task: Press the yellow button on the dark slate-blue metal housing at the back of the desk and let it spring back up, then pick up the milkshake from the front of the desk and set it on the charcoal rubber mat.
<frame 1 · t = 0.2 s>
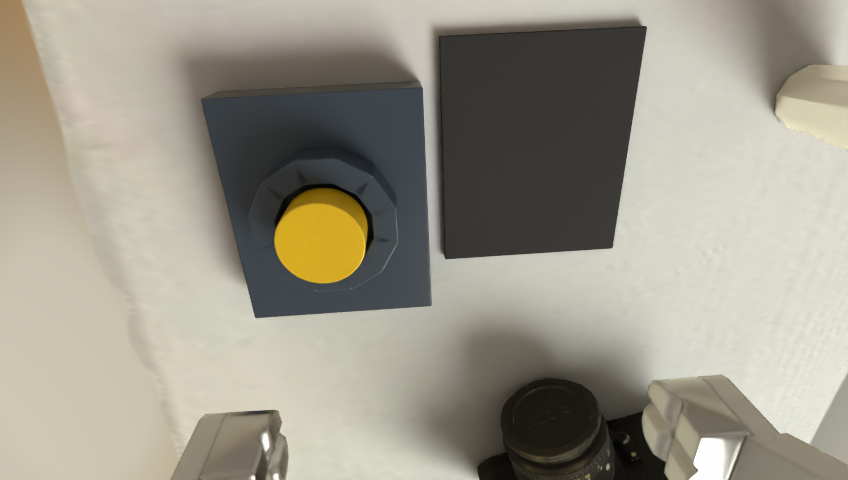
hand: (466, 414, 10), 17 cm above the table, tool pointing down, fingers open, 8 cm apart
milkshake: (793, 100, 25), on the table
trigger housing: (334, 199, 25), on the table
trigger: (323, 235, 21), point 5 cm above the table, slide at 0.1 cm
film camera: (555, 424, 34), on the table
mat: (534, 152, 25), on the table
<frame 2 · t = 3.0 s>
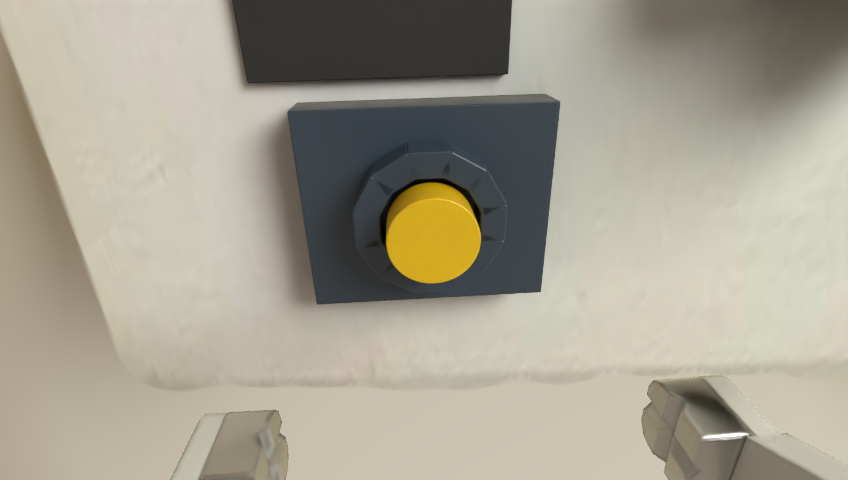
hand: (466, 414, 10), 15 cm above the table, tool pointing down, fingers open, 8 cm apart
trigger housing: (425, 195, 24), on the table
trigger: (431, 232, 20), point 5 cm above the table, slide at 0.1 cm
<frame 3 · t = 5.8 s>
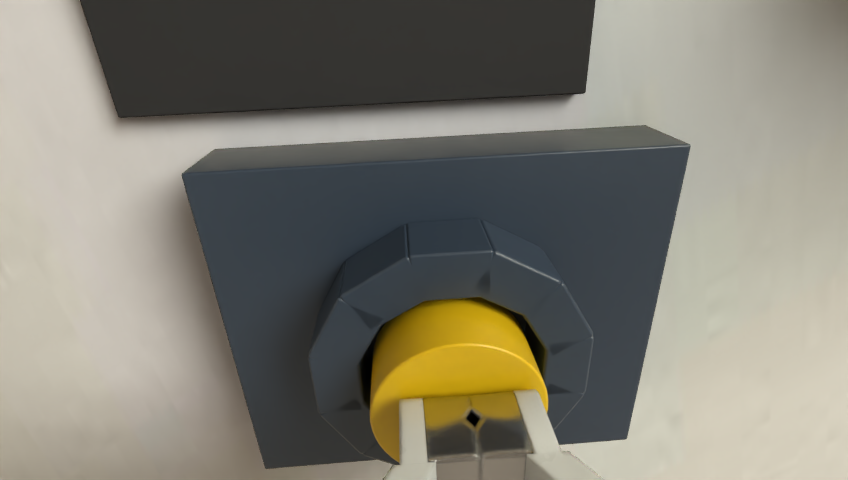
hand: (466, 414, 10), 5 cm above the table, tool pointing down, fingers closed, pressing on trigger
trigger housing: (438, 290, 15), on the table
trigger: (454, 383, 11), point 4 cm above the table, slide at -0.3 cm, touching gripper
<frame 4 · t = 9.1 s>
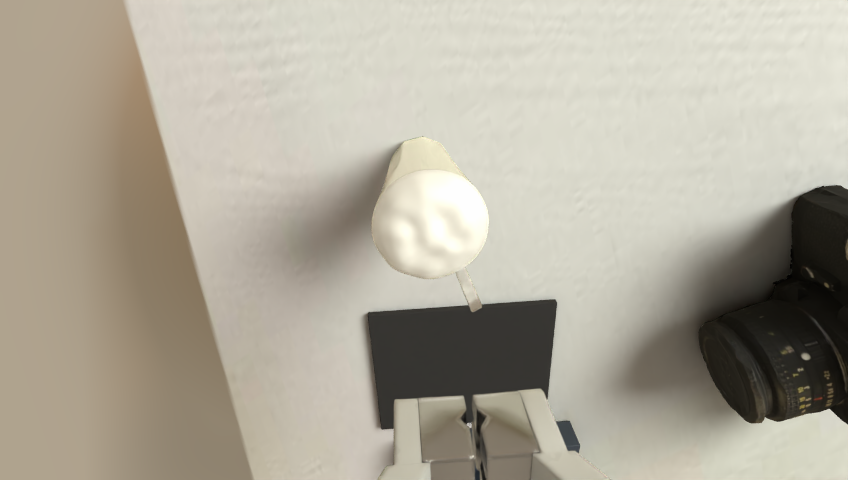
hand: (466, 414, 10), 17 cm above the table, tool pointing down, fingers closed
milkshake: (424, 170, 25), on the table
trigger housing: (489, 471, 36), on the table
film camera: (771, 307, 31), on the table
mat: (462, 366, 31), on the table
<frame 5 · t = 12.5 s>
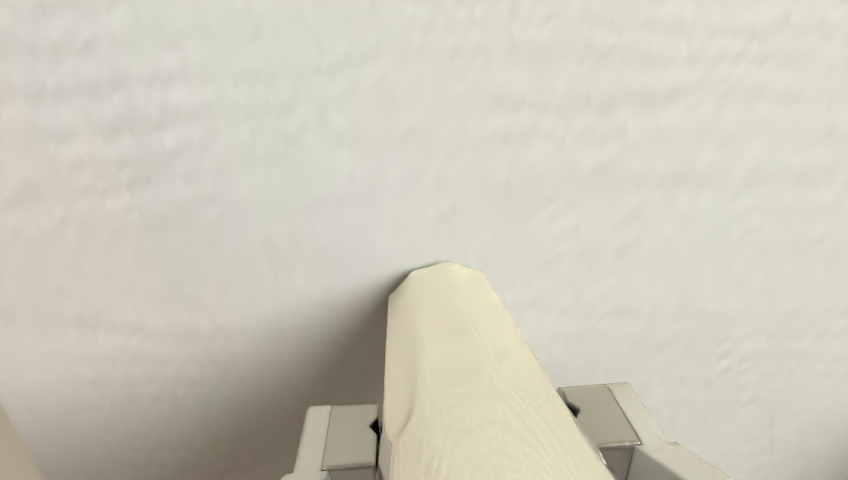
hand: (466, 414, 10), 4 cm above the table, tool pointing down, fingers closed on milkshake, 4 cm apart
milkshake: (448, 315, 13), on the table, touching gripper
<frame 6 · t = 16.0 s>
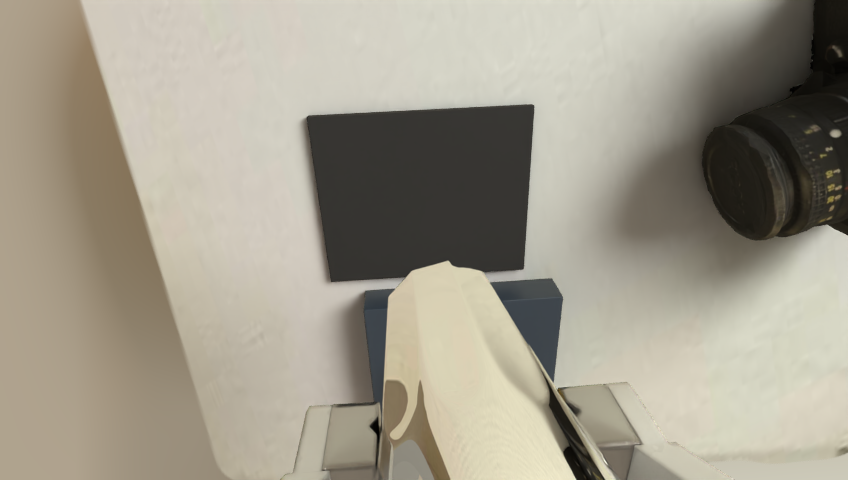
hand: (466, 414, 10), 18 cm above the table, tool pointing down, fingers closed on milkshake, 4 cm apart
milkshake: (448, 315, 13), point 14 cm above the table, touching gripper
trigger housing: (459, 346, 31), on the table
film camera: (787, 126, 26), on the table
mat: (424, 197, 27), on the table
when the fingers open (4 cm above the table, at t = 19.4 s): milkshake stays where it is, resting on mat.
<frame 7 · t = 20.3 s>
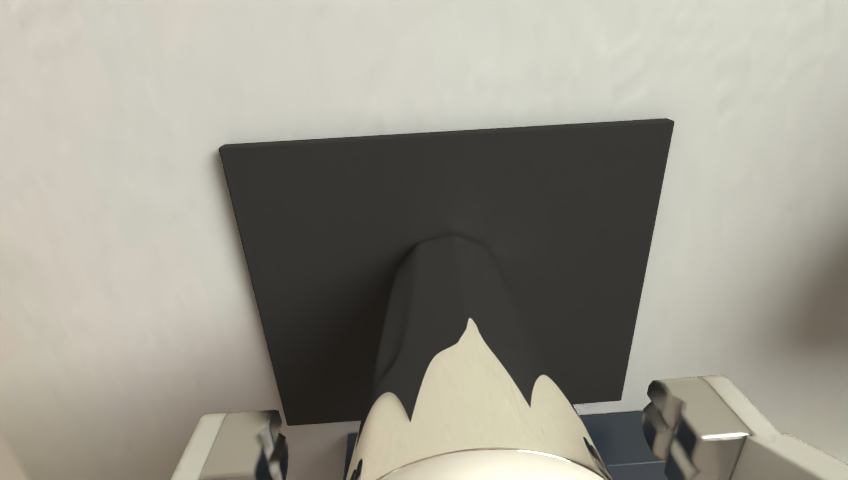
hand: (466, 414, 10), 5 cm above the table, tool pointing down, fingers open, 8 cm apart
milkshake: (454, 288, 14), resting on mat
mat: (451, 288, 15), on the table
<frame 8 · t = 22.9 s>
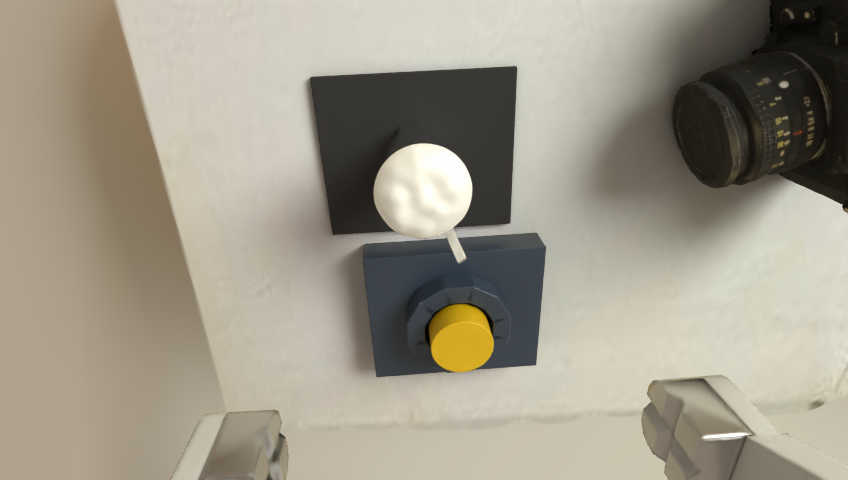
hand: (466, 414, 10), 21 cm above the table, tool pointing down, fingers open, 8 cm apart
milkshake: (419, 153, 29), resting on mat
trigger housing: (452, 298, 34), on the table
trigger: (460, 337, 30), point 5 cm above the table, slide at 0.1 cm
film camera: (751, 87, 29), on the table
mat: (418, 155, 29), on the table
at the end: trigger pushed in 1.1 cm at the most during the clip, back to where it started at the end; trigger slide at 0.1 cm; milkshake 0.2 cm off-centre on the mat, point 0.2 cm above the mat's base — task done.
